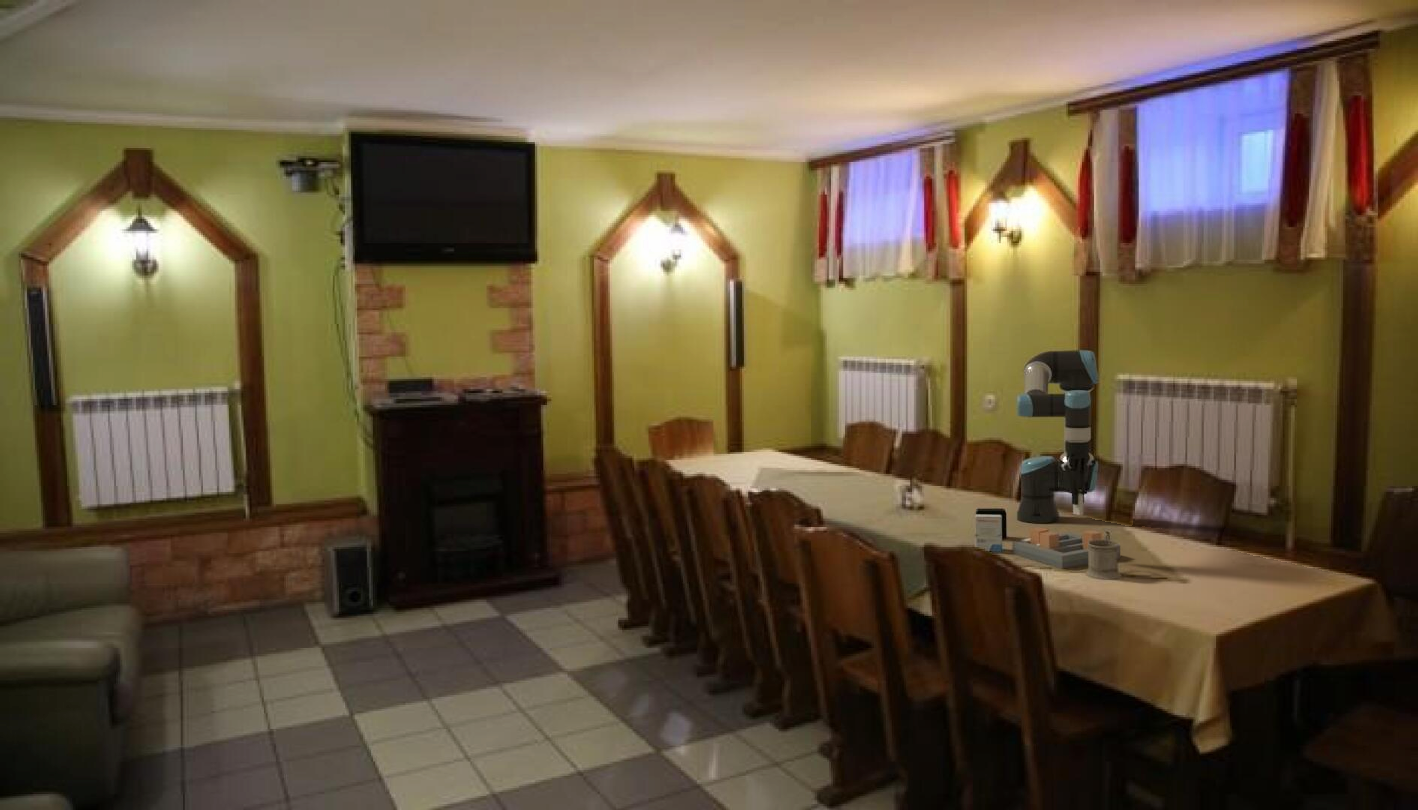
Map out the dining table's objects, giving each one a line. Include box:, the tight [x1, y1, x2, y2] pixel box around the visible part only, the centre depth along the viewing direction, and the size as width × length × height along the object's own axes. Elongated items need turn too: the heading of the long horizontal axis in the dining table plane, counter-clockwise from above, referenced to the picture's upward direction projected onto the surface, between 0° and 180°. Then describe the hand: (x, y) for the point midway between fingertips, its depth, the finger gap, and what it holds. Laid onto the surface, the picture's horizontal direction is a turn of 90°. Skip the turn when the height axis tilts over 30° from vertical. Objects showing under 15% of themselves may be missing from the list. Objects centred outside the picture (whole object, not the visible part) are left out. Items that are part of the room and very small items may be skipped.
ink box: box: [974, 513, 1003, 553], centre depth 328 cm, size 9×5×12 cm, turn 71°
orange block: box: [1081, 529, 1103, 550], centre depth 314 cm, size 4×4×6 cm
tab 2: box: [1040, 531, 1060, 549], centre depth 314 cm, size 4×4×6 cm
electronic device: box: [975, 507, 1008, 540], centre depth 345 cm, size 4×10×10 cm, turn 78°
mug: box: [1085, 529, 1122, 581], centre depth 296 cm, size 14×10×12 cm
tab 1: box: [1029, 527, 1050, 545], centre depth 320 cm, size 4×4×6 cm
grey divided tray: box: [1011, 531, 1121, 570], centre depth 317 cm, size 24×22×4 cm
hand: (1078, 514), depth 311 cm, fingers closed
